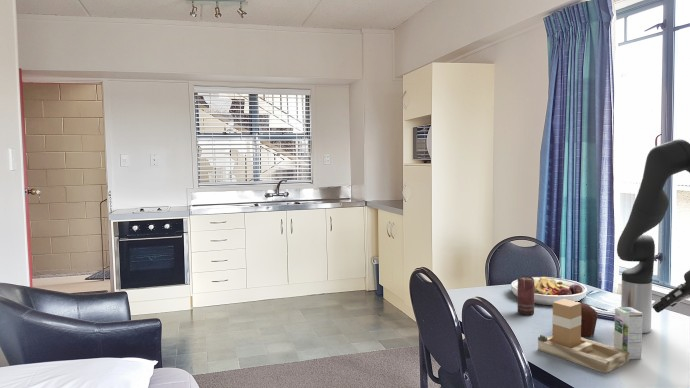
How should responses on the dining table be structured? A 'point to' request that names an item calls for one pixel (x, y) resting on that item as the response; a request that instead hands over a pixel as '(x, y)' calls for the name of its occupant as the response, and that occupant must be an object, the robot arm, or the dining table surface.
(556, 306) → the tan cardboard box
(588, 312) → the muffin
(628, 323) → the syrup box
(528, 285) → the can
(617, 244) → the robot arm
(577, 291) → the bowl
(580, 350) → the pallet
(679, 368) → the dining table surface
